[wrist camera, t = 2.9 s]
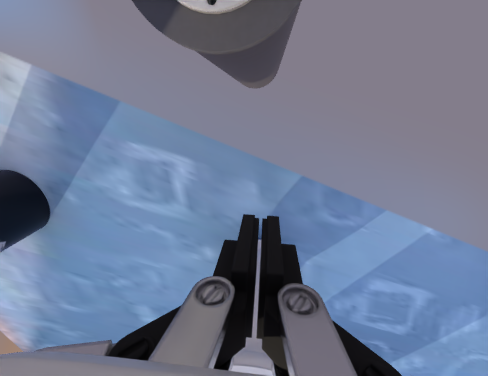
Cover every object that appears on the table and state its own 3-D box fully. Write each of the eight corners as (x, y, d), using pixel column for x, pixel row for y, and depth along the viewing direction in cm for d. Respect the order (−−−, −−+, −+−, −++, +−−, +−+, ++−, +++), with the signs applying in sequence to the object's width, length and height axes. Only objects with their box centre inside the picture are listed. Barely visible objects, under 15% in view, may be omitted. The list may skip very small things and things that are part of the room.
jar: (206, 278, 30) (154, 429, 16) (234, 217, 27) (198, 344, 13) (278, 307, 31) (287, 477, 17) (315, 251, 27) (367, 409, 13)
